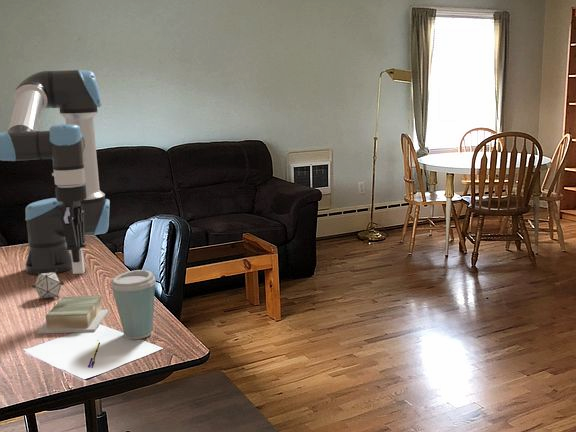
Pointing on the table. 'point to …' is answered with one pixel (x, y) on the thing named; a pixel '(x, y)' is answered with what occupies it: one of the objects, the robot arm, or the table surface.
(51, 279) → the game die
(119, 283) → the disposable coffee cup
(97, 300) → the wooden block
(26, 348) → the table surface
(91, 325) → the mat
